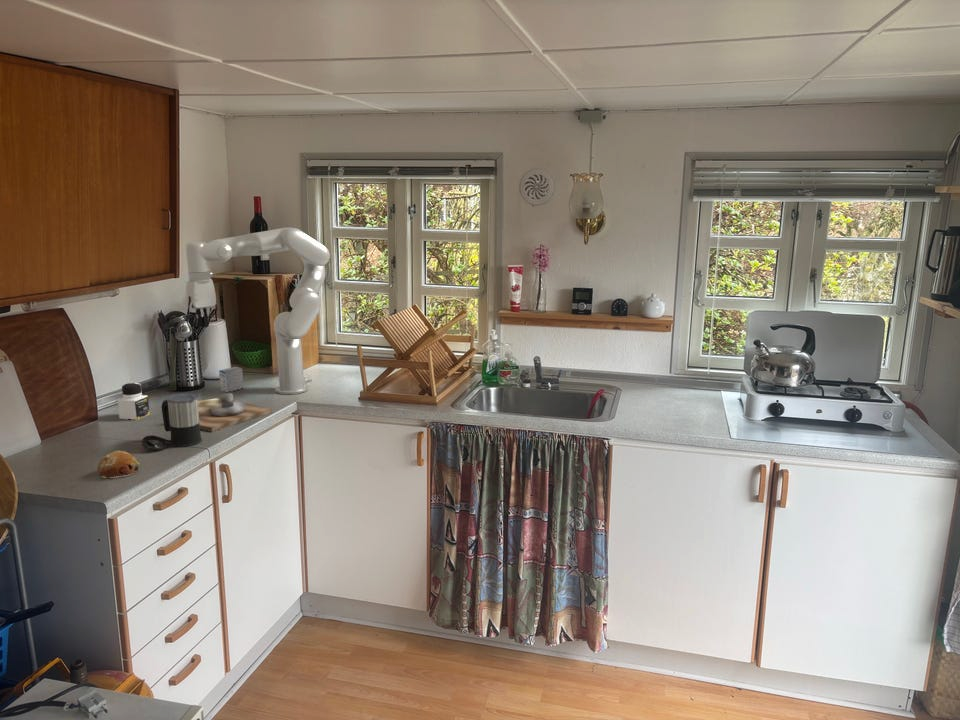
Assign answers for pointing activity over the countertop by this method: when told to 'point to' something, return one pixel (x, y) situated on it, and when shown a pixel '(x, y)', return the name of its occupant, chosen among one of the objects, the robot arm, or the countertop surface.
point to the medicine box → (231, 379)
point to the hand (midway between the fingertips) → (204, 326)
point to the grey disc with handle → (222, 405)
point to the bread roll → (117, 464)
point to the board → (229, 417)
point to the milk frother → (178, 422)
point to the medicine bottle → (133, 402)
